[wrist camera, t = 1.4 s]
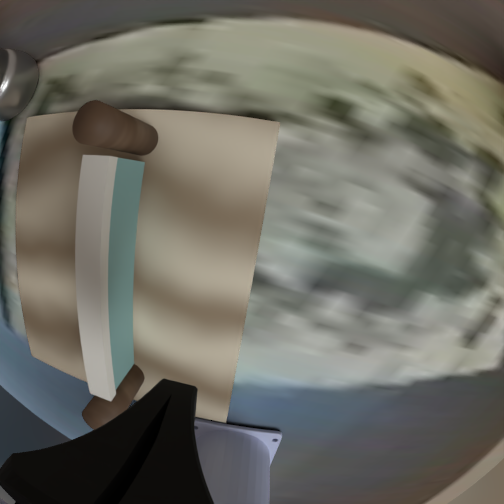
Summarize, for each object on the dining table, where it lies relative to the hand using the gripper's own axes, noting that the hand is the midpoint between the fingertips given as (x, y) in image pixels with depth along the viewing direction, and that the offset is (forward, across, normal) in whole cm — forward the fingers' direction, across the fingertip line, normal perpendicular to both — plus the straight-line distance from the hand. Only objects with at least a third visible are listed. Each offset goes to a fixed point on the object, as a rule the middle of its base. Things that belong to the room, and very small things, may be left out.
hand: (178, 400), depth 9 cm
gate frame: (+9, +8, -1) cm, 12 cm away
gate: (+8, +6, -2) cm, 10 cm away
